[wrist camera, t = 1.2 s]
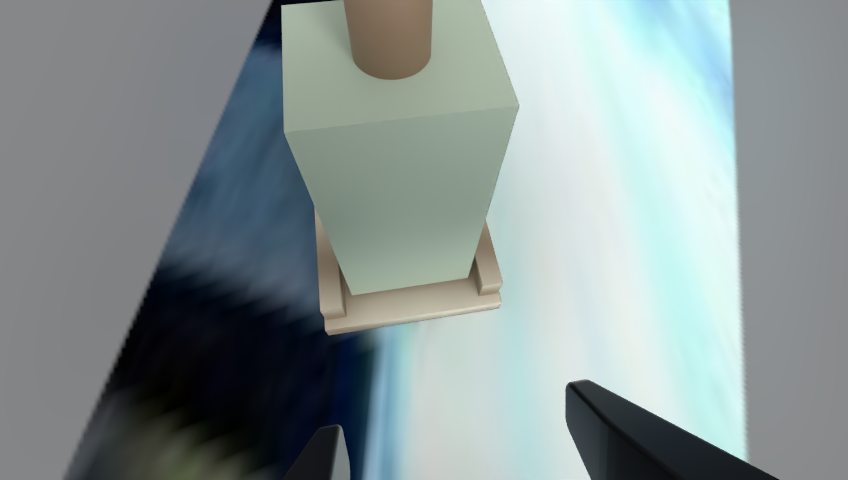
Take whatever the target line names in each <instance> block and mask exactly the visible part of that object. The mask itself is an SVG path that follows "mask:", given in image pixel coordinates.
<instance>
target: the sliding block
mask: <svg viewBox="0 0 848 480" xmlns="http://www.w3.org/2000/svg"><path fill="white" fill-rule="evenodd" d="M282 57H283V111H284V134H285V136H286V139H287V141H288V144H289V146H290V148H291V151H292V153H293V156H294V158H295V160H296V163H297V165H298V168H299V170H300V172H301V175H302V177H303V179H304V182H305V184H306V187H307V189H308V191H309V194H310V196H311V199H312V201H313V203H314V206H315V208H316V211H317V213H318V215H319V218H320V220H321V222H322V225H323V227H324V230H325V232H326V234H327V237H328V239H329V242H330V244H331V246H332V249H333V251H334V254H335V256H336V258H337V261H338V263H339V265H340V268H341V270H342V273H343V275H344V277H345V280H346V282H347V285H348V287H349V289H350V292H351V294H352V295H359V294H365V293H372V292H378V291H385V290H392V289H398V288H405V287H411V286H418V285H424V284H431V283H437V282H444V281H450V280H457V279H464V278H468V275H469V272H470V269H471V265H472V262H473V259H474V255H475V252H476V249H477V245H478V242H479V239H480V235H481V232H482V229H483V225H484V222H485V219H486V215H487V212H488V209H489V205H490V202H491V199H492V195H493V192H494V189H495V185H496V182H497V179H498V175H499V172H500V169H501V165H502V162H503V159H504V155H505V152H506V149H507V145H508V142H509V139H510V135H511V132H512V129H513V125H514V122H515V119H516V115H517V112H518V109H519V103H518V100H517V97H516V95H515V92H514V89H513V87H512V84H511V81H510V78H509V76H508V73H507V70H506V68H505V65H504V62H503V59H502V57H501V54H500V51H499V49H498V46H497V43H496V40H495V38H494V35H493V32H492V30H491V27H490V24H489V21H488V19H487V16H486V13H485V11H484V8H483V5H482V2H481V0H339V1H327V2H316V3H305V4H293V5H282Z"/></svg>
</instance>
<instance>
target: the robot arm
mask: <svg viewBox="0 0 848 480" xmlns="http://www.w3.org/2000/svg"><path fill="white" fill-rule="evenodd" d="M566 423H567V426H568V429H569V432H570V434H571V436H572V438H573V440H574V443H575V445H576V447H577V449H578V451H579V454H580V456H581V458H582V460H583V463H584V465H585V467H586V469H587V471H588V474H589V476H590V478H591V480H779V479H777V478H775V477H773V476H771V475H769V474H768V473H765V472H764V471H762V470H760V469H758V468H756V467H754V466H752V465H750V464H749V463H747V462H745V461H743V460H741V459H739V458H737V457H735V456H733V455H731V454H729V453H728V452H726V451H724V450H722V449H720V448H718V447H716V446H714V445H712V444H710V443H708V442H707V441H705V440H703V439H701V438H699V437H697V436H695V435H693V434H691V433H689V432H687V431H685V430H684V429H682V428H680V427H678V426H676V425H674V424H672V423H670V422H668V421H666V420H664V419H663V418H661V417H659V416H657V415H655V414H653V413H651V412H649V411H647V410H645V409H643V408H642V407H640V406H638V405H636V404H634V403H632V402H630V401H628V400H626V399H624V398H622V397H621V396H619V395H617V394H615V393H613V392H611V391H609V390H607V389H605V388H603V387H601V386H600V385H598V384H596V383H594V382H592V381H590V380H579V381H574V382H569V383H568V384H567V386H566ZM282 480H350V466H349V458H348V454H347V449H346V444H345V439H344V435H343V430H342V427H341V426H340V425H331V426H326V427H321V428H319V429H318V430H317V431H316V432H315V433H314V435H313V436H312V438H311V439H310V441H309V442H308V443H307V445H306V446H305V448H304V449H303V451H302V452H301V453H300V455H299V456H298V458H297V459H296V461H295V462H294V463H293V465H292V466H291V468H290V469H289V471H288V472H287V473H286V475H285V476H284V478H283V479H282Z"/></svg>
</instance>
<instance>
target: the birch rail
mask: <svg viewBox="0 0 848 480" xmlns="http://www.w3.org/2000/svg"><path fill="white" fill-rule="evenodd" d="M314 208H315V206H314ZM315 226H316V244H317V262H318V280H319V298H320V312H321V313H322V314H323V316H324V320H325V331H326V332H327V333H328V335H334V334H340V333H346V332H353V331H359V330H365V329H371V328H378V327H384V326H390V325H396V324H402V323H409V322H415V321H421V320H427V319H434V318H440V317H446V316H452V315H459V314H465V313H471V312H477V311H483V310H490V309H496V308H499V306H500V304H501V303H502V301H501V297H500V294H499V289H500V287H501V286H502V284H503V281H502V278H501V274H500V270H499V267H498V263H497V259H496V256H495V252H494V248H493V245H492V241H491V237H490V234H489V230H488V226H487V223H486V219H485V222H484V225H483V229H482V232H481V235H480V239H479V242H478V245H477V249H476V252H475V255H474V259H473V262H472V265H471V269H470V272H469V275H468V278H464V279H457V280H450V281H444V282H437V283H431V284H424V285H418V286H411V287H405V288H398V289H392V290H385V291H378V292H372V293H365V294H359V295H352V294H351V292H350V289H349V287H348V285H347V282H346V280H345V277H344V275H343V273H342V270H341V268H340V265H339V263H338V261H337V258H336V256H335V254H334V251H333V249H332V246H331V244H330V242H329V239H328V237H327V234H326V232H325V230H324V227H323V225H322V222H321V220H320V218H319V215H318V213H317V211H316V208H315Z"/></svg>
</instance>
